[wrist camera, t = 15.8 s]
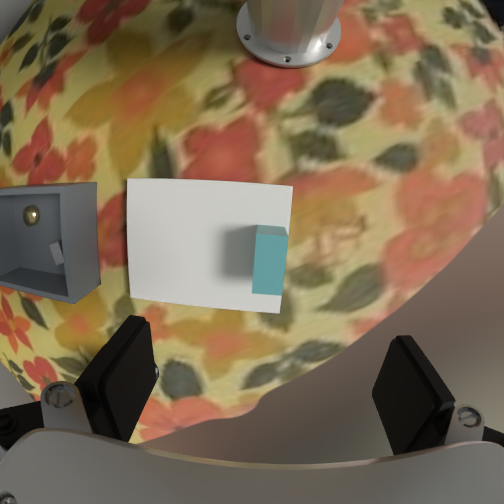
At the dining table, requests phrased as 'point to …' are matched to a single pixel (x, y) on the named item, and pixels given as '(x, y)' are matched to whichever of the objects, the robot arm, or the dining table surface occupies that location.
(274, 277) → the lid
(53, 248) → the steel block
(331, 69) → the dining table surface
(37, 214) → the gold rounded disc
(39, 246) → the tub
